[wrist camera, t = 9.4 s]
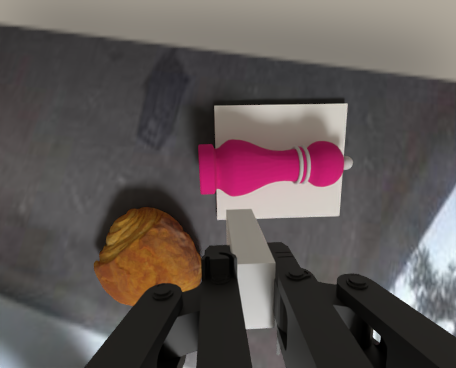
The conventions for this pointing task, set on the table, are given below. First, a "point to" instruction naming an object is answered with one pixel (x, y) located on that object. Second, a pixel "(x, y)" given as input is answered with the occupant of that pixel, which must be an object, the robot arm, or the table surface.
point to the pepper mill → (267, 166)
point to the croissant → (146, 255)
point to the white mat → (283, 140)
